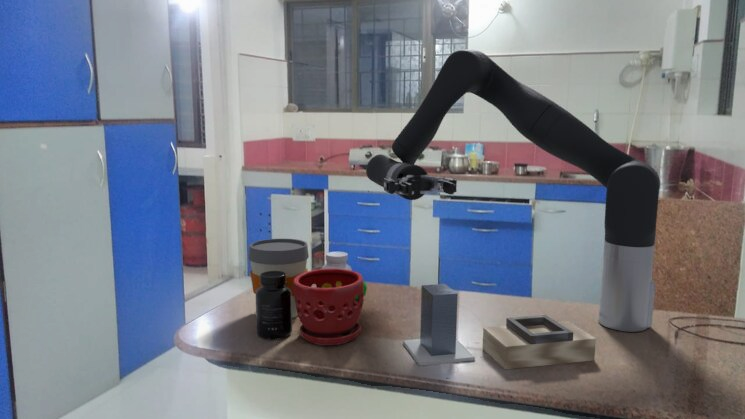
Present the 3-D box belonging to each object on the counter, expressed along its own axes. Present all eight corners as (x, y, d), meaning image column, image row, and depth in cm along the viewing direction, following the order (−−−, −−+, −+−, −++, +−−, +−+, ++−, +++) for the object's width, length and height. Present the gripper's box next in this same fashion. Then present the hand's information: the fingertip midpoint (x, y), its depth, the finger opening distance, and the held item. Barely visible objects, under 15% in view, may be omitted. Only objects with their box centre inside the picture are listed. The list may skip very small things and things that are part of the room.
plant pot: (306, 322, 118) (306, 265, 116) (369, 328, 115) (370, 269, 113) (284, 347, 105) (283, 283, 103) (354, 354, 102) (354, 288, 100)
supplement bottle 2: (347, 318, 120) (347, 258, 118) (317, 315, 122) (317, 256, 120) (355, 308, 127) (355, 251, 125) (326, 305, 128) (326, 249, 126)
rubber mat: (453, 339, 110) (453, 335, 109) (474, 360, 100) (474, 357, 100) (403, 343, 107) (403, 340, 107) (419, 365, 98) (419, 362, 98)
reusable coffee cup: (321, 310, 125) (320, 242, 123) (282, 327, 115) (281, 254, 112) (277, 300, 132) (276, 235, 130) (237, 315, 122) (235, 246, 119)
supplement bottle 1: (258, 327, 115) (257, 269, 113) (293, 327, 115) (292, 268, 113) (254, 340, 108) (252, 278, 106) (291, 340, 108) (290, 278, 106)
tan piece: (565, 341, 109) (567, 313, 108) (594, 360, 100) (596, 330, 100) (482, 348, 105) (483, 319, 104) (505, 369, 96) (506, 338, 96)
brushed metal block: (443, 341, 107) (444, 283, 105) (455, 353, 101) (457, 293, 99) (420, 343, 106) (421, 285, 104) (431, 356, 100) (432, 295, 98)
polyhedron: (370, 297, 135) (370, 277, 134) (361, 303, 130) (361, 283, 129) (351, 294, 137) (351, 275, 136) (341, 300, 132) (341, 280, 131)
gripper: (375, 163, 124) (396, 170, 108) (438, 163, 127) (466, 169, 111) (375, 198, 125) (395, 209, 109) (437, 196, 128) (465, 207, 112)
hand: (431, 189), depth 110 cm, fingers open, 8 cm apart
